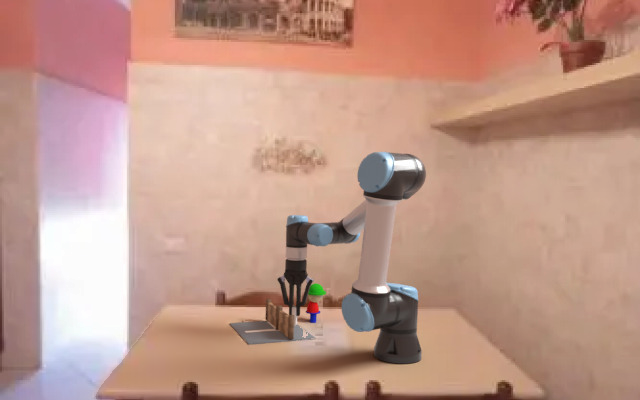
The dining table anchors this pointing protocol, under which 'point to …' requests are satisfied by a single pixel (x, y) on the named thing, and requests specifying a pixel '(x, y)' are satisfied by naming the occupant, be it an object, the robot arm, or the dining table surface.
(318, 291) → the toy
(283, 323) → the fence panel
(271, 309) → the fence fixed
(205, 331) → the dining table surface
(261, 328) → the mat
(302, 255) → the robot arm
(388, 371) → the dining table surface
